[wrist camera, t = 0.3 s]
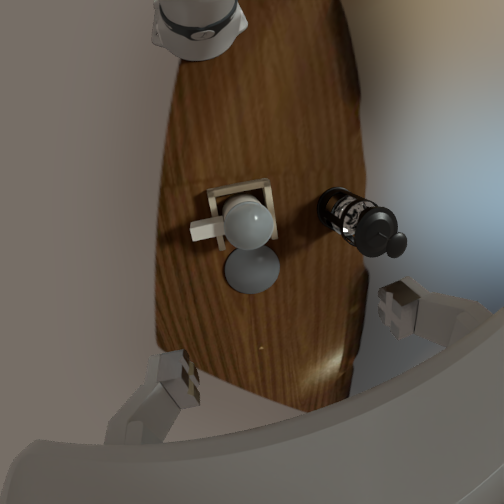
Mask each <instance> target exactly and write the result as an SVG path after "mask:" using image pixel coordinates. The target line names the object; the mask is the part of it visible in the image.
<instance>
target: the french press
mask: <svg viewBox="0 0 504 504" xmlns="http://www.w3.org/2000/svg"><path fill="white" fill-rule="evenodd" d="M337 193H341V194H344V195H345V196H344V197H342V198H341V199H339V200H338V201H337V202H336V203H335V205H334V206H333V208H332V211H331V212H329V211H328V210H326V209H325V207H326V204H327V203H328V201H329V200H330V198H331V197H332V196H333V195H335V194H337ZM364 201H368V202H371V203H373V205H374V206H375V207H367V206H366V205H365V203H364ZM317 214H318V217H319V219H320V221H321V222H322V224H324V225H325V226H326V227H328V228H330V229H332V230H334V231H336V232H338V233H339V234H341V235H342V237H343V238H344V240H346V241H347V242H348V243H349V244H351V245H353V246H355V247H357V249H358V250H359V252H361V253H362V254H363V255H365V256H367V257H378V256H380V255H382V254H384V253H385V252H387V254H388V256H389V257H391V258H397V257H399V256H400V255H402V254H403V253H404V251H405V249H406V247H407V238H406V236H405V234H403V233H400V232H398V233H397V230H398V224H397V220H396V217H395V215H394V214H393V212H392V211H390V210H389V209H387V208H385V207H378V205H377V204H375V203H374V202H372V201H370V200H367V199H365V198H362V197H360V196H358V195H355V194H353V193H351V192H349V191H348V190H346V189H345V188H342V187H334V188H331V189H329V190H327V191H326V192H324V193H323V195H322V196H321V197H320V199H319V201H318V205H317ZM327 219H328V220H329V221H330V222H329V221H328V220H327ZM353 234H355V237H353V236H352V235H353ZM346 238H347V239H348V240H349V241H350V242H349V241H348V240H347V239H346ZM351 242H352V243H351Z"/></svg>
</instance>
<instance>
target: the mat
mask: <svg viewBox="0 0 504 504" xmlns="http://www.w3.org/2000/svg"><path fill="white" fill-rule="evenodd" d="M279 269H280V265H279V260H278V258H277V256H276V254H275V253H274V251H273V250H272V249H270V248H269V247H267V246H265V245H262V246H261V247H259V248H256V249H253V250H243V249H239V248H237V249H235V250H234V251H233V252H232V253H231V254H230V255H229V257H228V259H227V261H226V264H225V276H226V279H227V281H228V283H229V284H230V285H231V286H232V287H233V288H234V289H235V290H237V291H239V292H242V293H246V294H254V293H259V292H262V291H264V290H266V289H267V288H269V287H270V286H271V285H272V284H273V283H274V282H275V280H276V279H277V277H278V274H279Z"/></svg>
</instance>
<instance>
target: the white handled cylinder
mask: <svg viewBox="0 0 504 504" xmlns="http://www.w3.org/2000/svg"><path fill="white" fill-rule="evenodd" d="M273 228H274V223H273V218H272V215H271V214H270V212H269V211H268V210H267V208H266V207H264V206H263V205H262V204H261V203H260V202H259V201H258V199H257V198H256V197H254V196H253V195H251V194H249V193H244V192H241V193H236V194H233V195H232V196H230V197H229V198H228V199H227V200H226V201H225V203H224V205H223V208H222V216H217V217H213V218H208V219H203V220H199V221H194V222H191V225H190V232H191V236H192V240H193V241H198V240H202V239H207V238H211V237H216V236H221V235H226V237H227V239H228V241H229V242H230V243H231V244H232V245H234V246H235V247H237V248H239V249H243V250H253V249H256V248H259V247H261V246H262V245H264V244H265V243H266V242H267V241H268V240H269V238H270V237H271V235H272V232H273Z"/></svg>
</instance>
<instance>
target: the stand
mask: <svg viewBox="0 0 504 504" xmlns="http://www.w3.org/2000/svg"><path fill="white" fill-rule="evenodd" d="M258 188H262V191H263V198H264V204H265V207H266V208H267V210H268V211H269V212H270V214H271V215H272V218H273V223H274V228H273V232H272V235H271V239H272V240H274V239H278V235H277V227H276V220H275V213H274V206H273V199H272V192H271V185H270V180H269V179H267V178H263V179H258V180H252V181H247V182H241V183H236V184H231V185H226V186H221V187H216V188H211V189H207V195H208V200H209V205H210V209H211V214H212V218H213V217H217V216H219V215H218V211H217V206H216V201H215V197H217V196H222V195H227V194H232V193H237V192H242V191H247V190H252V189H258ZM216 237H217V241H218V246H219V250H220V251H222V250H226V249H225V244H224V239H223V235H221V236H216Z"/></svg>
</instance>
